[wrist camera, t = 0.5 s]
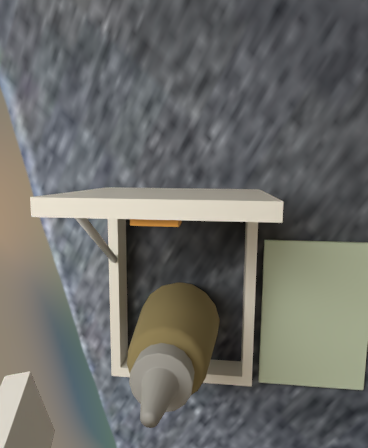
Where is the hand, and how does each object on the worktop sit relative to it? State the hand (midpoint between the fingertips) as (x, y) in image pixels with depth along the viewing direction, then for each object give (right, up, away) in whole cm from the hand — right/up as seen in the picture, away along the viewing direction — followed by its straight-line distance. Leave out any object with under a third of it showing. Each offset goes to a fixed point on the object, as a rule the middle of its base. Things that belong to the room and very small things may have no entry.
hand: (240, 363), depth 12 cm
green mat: (+12, -5, +26) cm, 29 cm away
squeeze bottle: (-2, -5, +28) cm, 28 cm away
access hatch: (-2, -2, +27) cm, 27 cm away
